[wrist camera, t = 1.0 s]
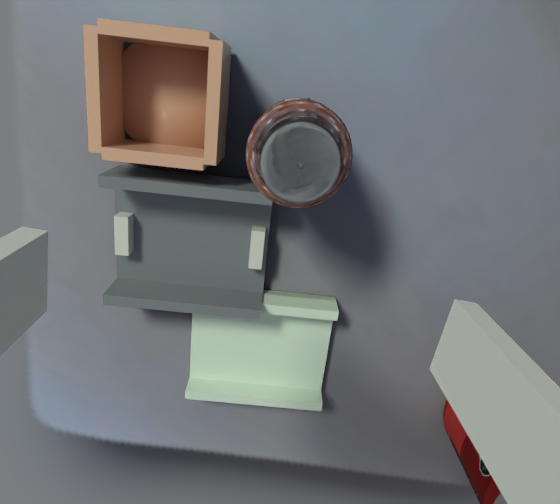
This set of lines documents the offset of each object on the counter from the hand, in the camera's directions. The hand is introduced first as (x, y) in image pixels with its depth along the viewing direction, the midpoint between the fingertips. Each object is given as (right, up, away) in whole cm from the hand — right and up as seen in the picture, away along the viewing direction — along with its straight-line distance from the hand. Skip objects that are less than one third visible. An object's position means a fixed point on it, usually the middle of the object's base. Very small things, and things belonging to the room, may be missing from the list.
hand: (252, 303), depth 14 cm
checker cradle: (-6, +3, +20) cm, 21 cm away
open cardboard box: (-7, +13, +17) cm, 22 cm away
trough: (-1, -6, +24) cm, 24 cm away
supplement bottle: (+2, +10, +18) cm, 20 cm away
